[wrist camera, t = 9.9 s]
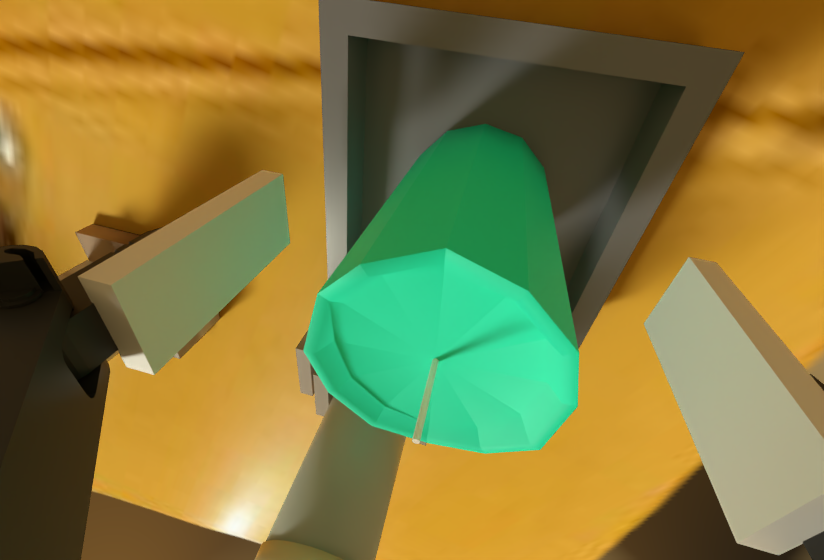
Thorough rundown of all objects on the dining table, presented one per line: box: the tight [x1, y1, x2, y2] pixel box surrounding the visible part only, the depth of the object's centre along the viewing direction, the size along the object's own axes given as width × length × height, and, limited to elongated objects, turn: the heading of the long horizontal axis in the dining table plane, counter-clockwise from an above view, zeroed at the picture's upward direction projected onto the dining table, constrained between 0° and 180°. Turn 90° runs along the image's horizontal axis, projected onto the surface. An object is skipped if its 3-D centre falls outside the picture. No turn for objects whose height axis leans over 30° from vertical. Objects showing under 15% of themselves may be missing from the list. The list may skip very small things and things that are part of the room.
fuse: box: [255, 396, 406, 560], centre depth 18 cm, size 5×5×12 cm
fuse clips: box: [58, 224, 426, 445], centre depth 22 cm, size 25×12×5 cm, turn 84°
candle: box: [303, 124, 579, 453], centre depth 11 cm, size 6×6×12 cm
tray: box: [319, 0, 745, 349], centre depth 16 cm, size 13×13×3 cm
